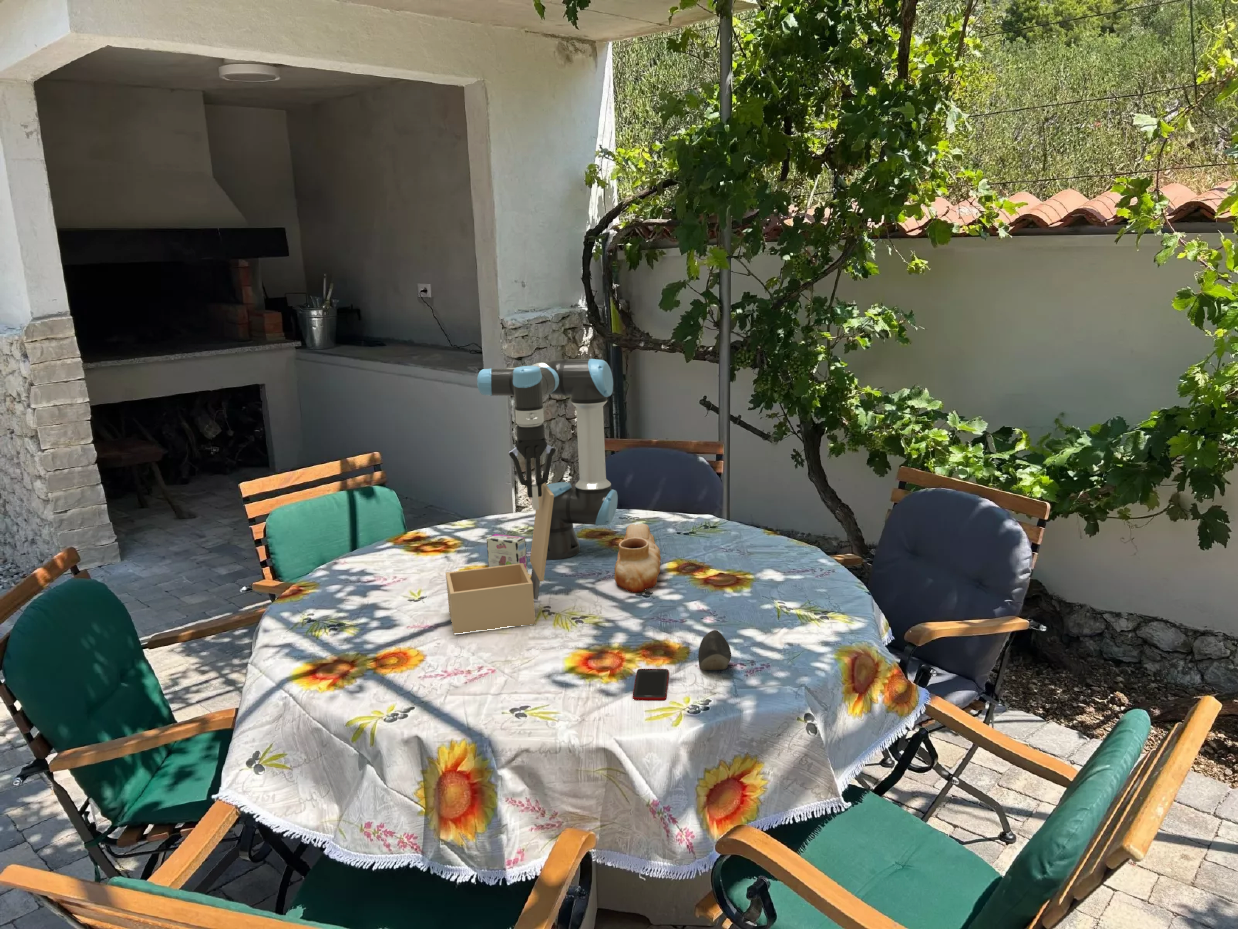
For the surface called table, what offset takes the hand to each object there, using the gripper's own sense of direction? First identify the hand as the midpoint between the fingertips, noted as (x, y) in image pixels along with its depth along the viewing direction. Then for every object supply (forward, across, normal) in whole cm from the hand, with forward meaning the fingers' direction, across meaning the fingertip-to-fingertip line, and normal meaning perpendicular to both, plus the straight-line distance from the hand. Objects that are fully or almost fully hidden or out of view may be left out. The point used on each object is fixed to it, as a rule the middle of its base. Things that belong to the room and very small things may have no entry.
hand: (535, 508), depth 258 cm
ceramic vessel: (+31, +33, +16) cm, 48 cm away
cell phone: (+31, +17, -52) cm, 63 cm away
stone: (+31, +34, -50) cm, 67 cm away
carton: (+30, -14, 0) cm, 34 cm away
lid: (+10, 0, 0) cm, 10 cm away
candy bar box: (+31, -6, +20) cm, 37 cm away
